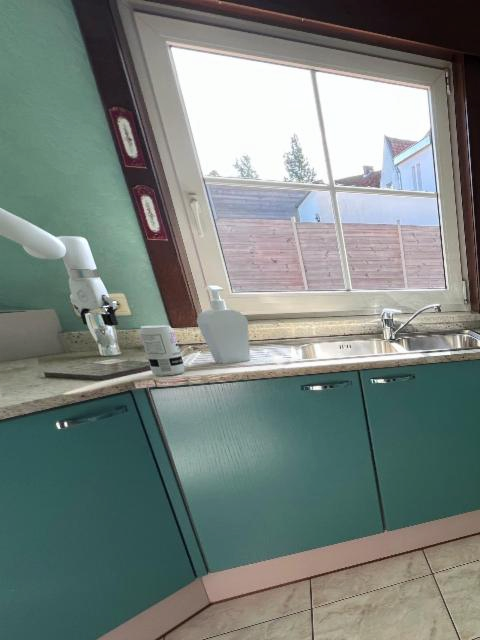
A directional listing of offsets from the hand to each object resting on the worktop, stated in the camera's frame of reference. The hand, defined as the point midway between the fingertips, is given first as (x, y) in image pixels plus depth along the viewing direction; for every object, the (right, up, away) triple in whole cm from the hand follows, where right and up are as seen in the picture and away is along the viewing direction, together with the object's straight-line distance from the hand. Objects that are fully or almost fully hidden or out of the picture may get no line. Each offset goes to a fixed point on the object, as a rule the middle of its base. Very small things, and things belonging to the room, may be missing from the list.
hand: (101, 324), depth 177 cm
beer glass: (0, -10, +4) cm, 11 cm away
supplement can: (+42, -21, -19) cm, 50 cm away
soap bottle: (+47, -13, +1) cm, 48 cm away
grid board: (+22, -20, -19) cm, 35 cm away
